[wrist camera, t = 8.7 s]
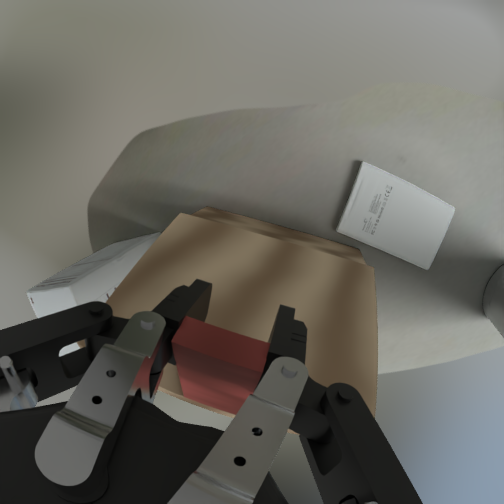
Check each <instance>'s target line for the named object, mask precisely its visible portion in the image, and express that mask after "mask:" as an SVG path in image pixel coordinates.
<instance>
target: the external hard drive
mask: <svg viewBox="0 0 504 504" xmlns="http://www.w3.org/2000/svg"><path fill="white" fill-rule="evenodd" d="M454 212H455V207H453V206H451V205H450V204H448V203H446V202H444V201H443V200H441V199H439V198H437V197H436V196H434V195H432V194H430V193H428V192H426V191H425V190H423V189H421V188H419V187H417V186H415V185H413V184H411V183H409V182H407V181H405V180H403V179H401V178H399V177H397V176H395V175H393V174H391V173H389V172H386V171H384V170H382V169H380V168H378V167H375V166H373V165H371V164H369V163H366V162H364V161H362V162H361V165H360V168H359V171H358V173H357V176H356V179H355V182H354V184H353V187H352V191H351V194H350V196H349V199H348V201H347V203H346V205H345V208H344V211H343V213H342V216H341V218H340V221H339V223H338V226H337V228H336V232H339V233H341V234H344V235H346V236H349V237H351V238H353V239H356V240H358V241H361V242H363V243H365V244H368V245H370V246H372V247H375V248H377V249H380V250H382V251H384V252H387V253H389V254H391V255H394V256H396V257H398V258H400V259H403V260H405V261H407V262H410V263H412V264H414V265H416V266H419V267H421V268H423V269H425V270H428V269H429V268H430V266H431V264H432V262H433V260H434V258H435V256H436V254H437V252H438V249H439V247H440V245H441V243H442V241H443V238H444V236H445V234H446V232H447V229H448V227H449V225H450V222H451V220H452V217H453V215H454Z"/></svg>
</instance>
